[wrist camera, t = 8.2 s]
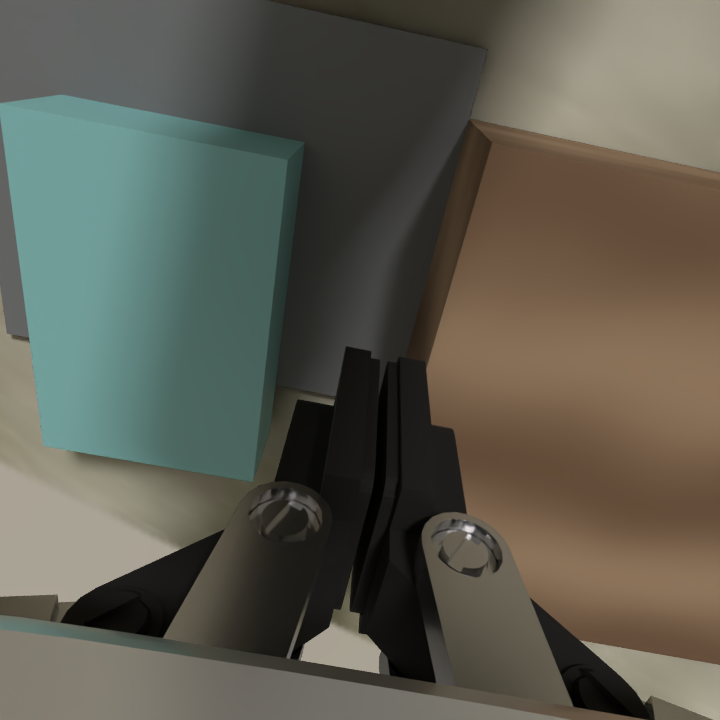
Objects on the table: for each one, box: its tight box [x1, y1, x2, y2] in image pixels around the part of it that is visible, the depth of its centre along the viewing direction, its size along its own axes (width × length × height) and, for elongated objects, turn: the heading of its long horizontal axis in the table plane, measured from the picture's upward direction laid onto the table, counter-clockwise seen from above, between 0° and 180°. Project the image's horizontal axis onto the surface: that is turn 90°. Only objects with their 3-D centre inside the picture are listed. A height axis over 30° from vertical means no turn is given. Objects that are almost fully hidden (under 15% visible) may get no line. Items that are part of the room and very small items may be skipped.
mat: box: [0, 0, 488, 397], centre depth 15 cm, size 10×12×1 cm
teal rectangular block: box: [0, 95, 305, 482], centre depth 15 cm, size 9×6×2 cm, turn 170°
